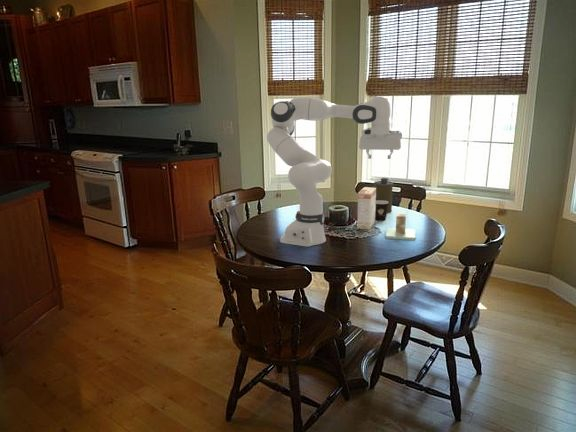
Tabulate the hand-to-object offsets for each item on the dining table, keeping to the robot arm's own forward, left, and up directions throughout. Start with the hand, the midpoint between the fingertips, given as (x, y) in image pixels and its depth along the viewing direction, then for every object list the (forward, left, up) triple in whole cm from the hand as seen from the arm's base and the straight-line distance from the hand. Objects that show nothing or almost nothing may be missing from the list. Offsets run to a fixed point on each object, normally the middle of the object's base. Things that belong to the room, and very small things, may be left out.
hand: (379, 158), depth 211 cm
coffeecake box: (-6, +6, -37) cm, 38 cm away
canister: (+1, +37, -37) cm, 53 cm away
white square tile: (+12, -7, -37) cm, 40 cm away
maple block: (+12, -7, -36) cm, 38 cm away
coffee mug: (-1, +19, -37) cm, 42 cm away
